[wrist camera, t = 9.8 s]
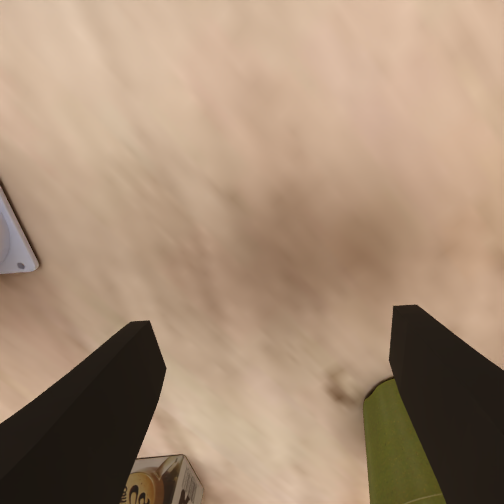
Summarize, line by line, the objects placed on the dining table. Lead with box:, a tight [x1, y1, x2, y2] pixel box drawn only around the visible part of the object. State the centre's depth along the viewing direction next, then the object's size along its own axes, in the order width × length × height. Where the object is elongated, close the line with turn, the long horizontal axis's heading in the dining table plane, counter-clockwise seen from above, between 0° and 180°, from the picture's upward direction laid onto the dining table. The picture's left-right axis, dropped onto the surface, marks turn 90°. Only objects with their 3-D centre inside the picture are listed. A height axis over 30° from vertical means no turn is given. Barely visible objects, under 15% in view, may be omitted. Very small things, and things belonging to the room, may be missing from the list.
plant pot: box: [363, 378, 446, 504], centre depth 20 cm, size 12×12×11 cm
